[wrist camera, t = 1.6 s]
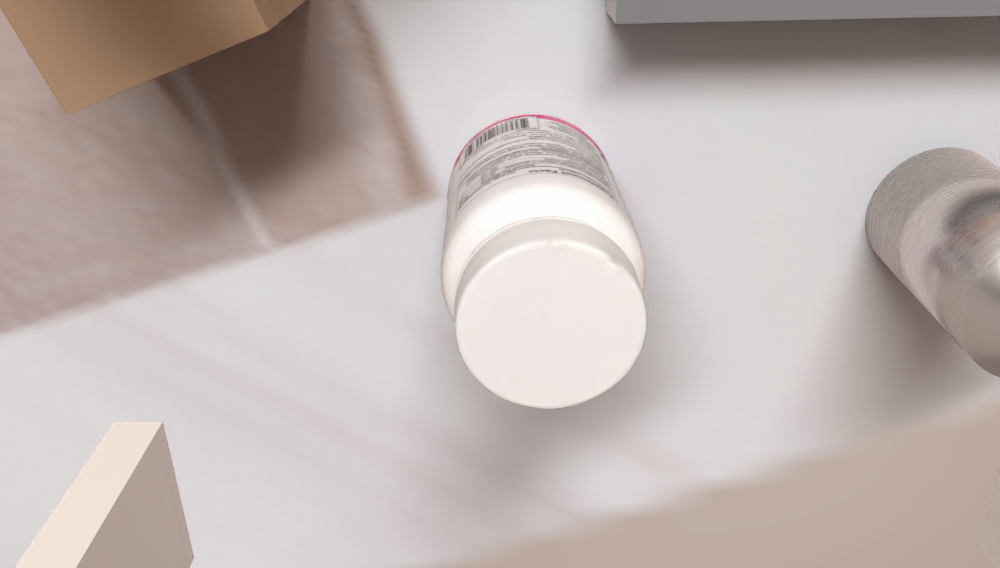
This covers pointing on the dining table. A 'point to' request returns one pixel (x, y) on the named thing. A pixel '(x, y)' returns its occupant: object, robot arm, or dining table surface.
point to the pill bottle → (541, 264)
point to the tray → (790, 10)
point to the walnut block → (130, 39)
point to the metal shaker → (945, 242)
